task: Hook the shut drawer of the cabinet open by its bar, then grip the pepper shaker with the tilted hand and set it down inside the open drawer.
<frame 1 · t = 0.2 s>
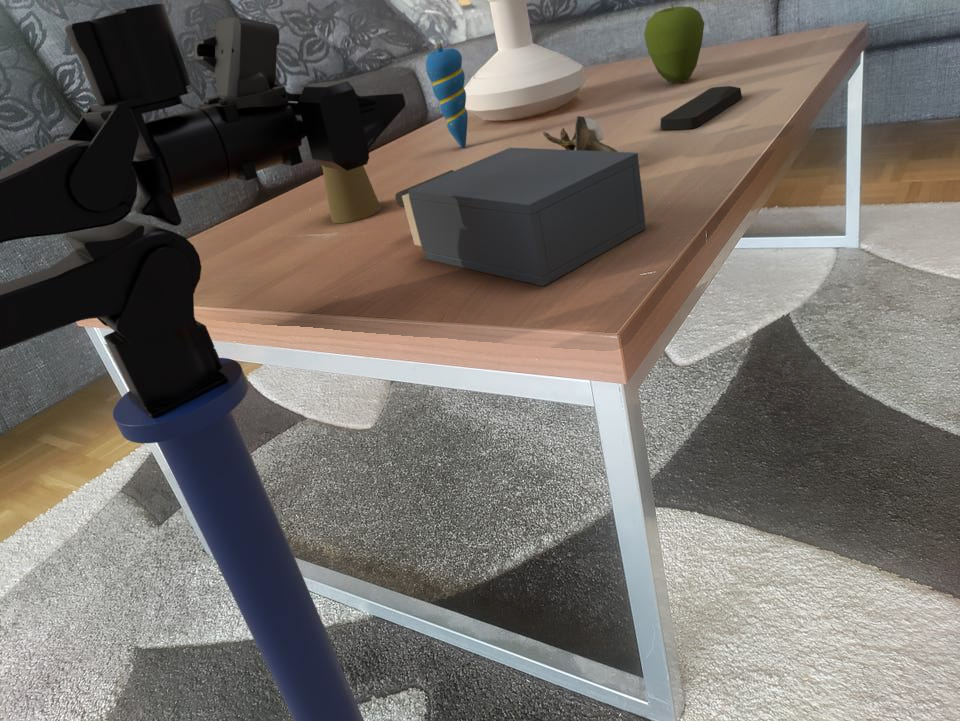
hand: (373, 98, 67), 14 cm above the table, tool horizontal, fingers open, 9 cm apart
ornament: (462, 149, 109), on the table
cabinet: (531, 244, 67), on the table
candle holder: (527, 113, 123), on the table
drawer: (486, 204, 69), point 3 cm above the table, slide at 1.0 cm
eagle figurine: (590, 173, 84), on the table
pepper shaker: (356, 215, 89), on the table
apple: (678, 84, 118), on the table
remote control: (702, 115, 97), on the table
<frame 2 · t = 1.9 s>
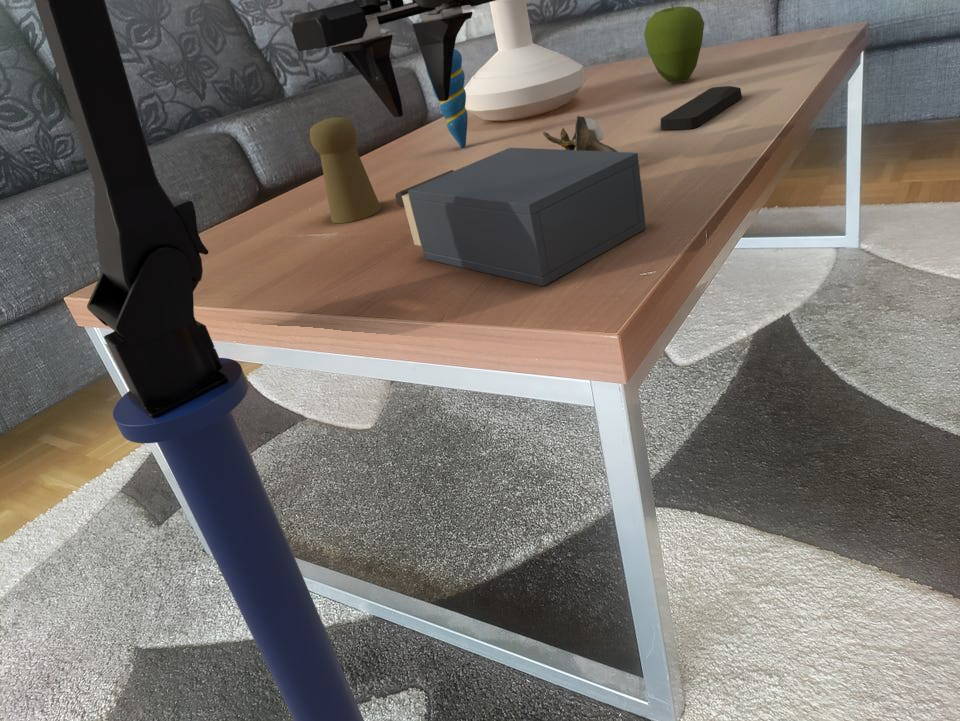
hand: (421, 108, 70), 12 cm above the table, tool pointing down, fingers open, 5 cm apart
nothing on the table moved.
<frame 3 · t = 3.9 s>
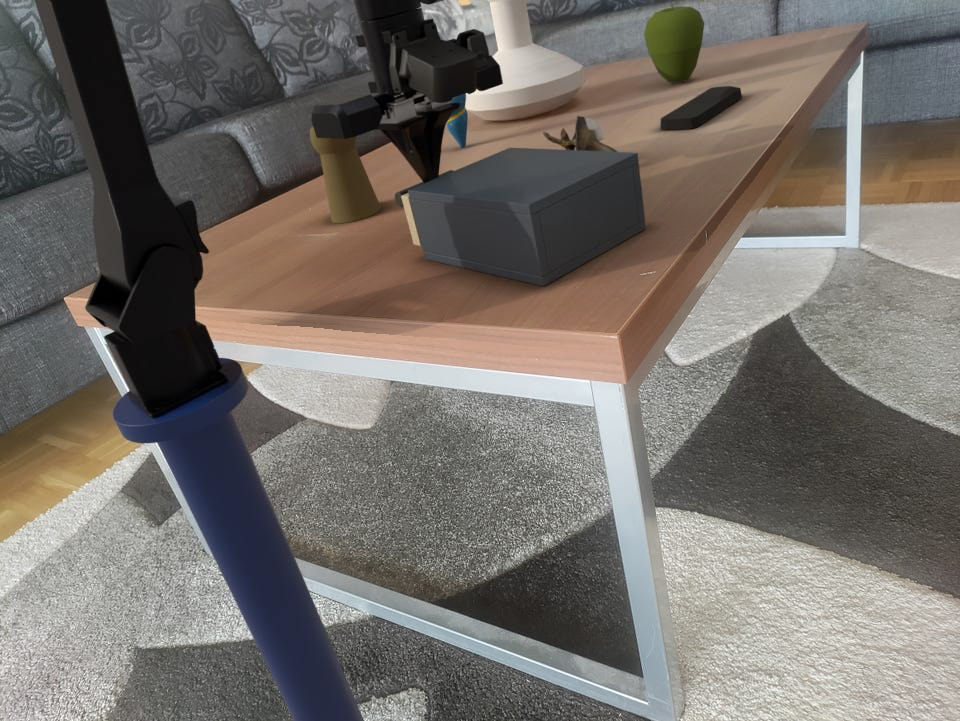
hand: (431, 184, 75), 5 cm above the table, tool pointing down, fingers closed, pressing on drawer
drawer: (486, 204, 69), point 3 cm above the table, slide at 1.1 cm, touching gripper
everything else where it was.
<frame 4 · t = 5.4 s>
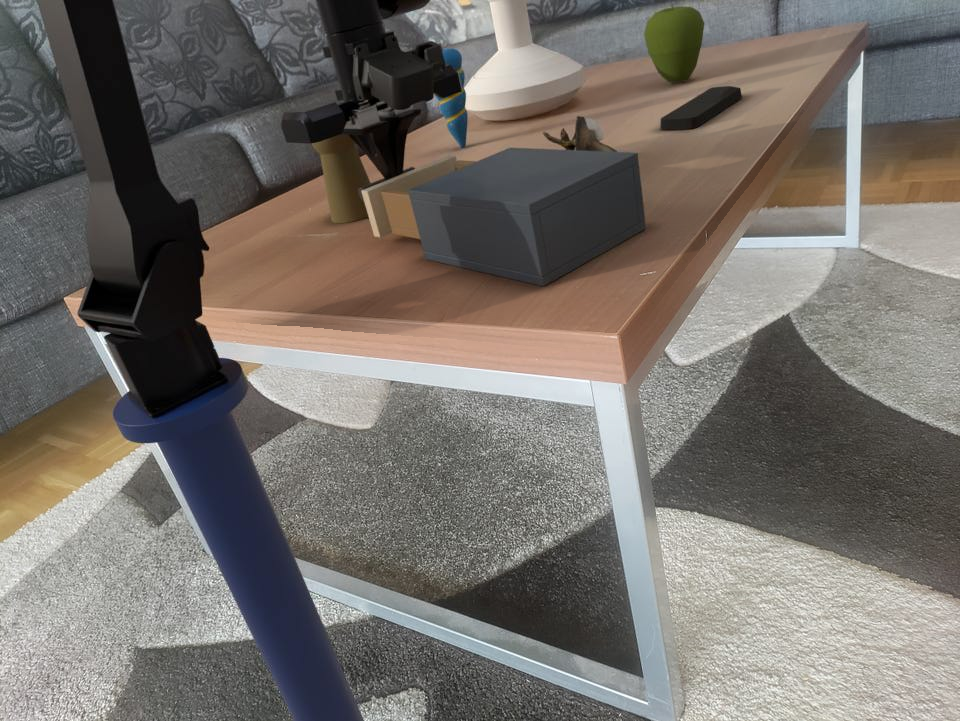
hand: (396, 185, 80), 4 cm above the table, tool pointing down, fingers closed, pressing on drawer
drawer: (440, 198, 74), point 3 cm above the table, slide at 8.1 cm, touching gripper
everything else where it was.
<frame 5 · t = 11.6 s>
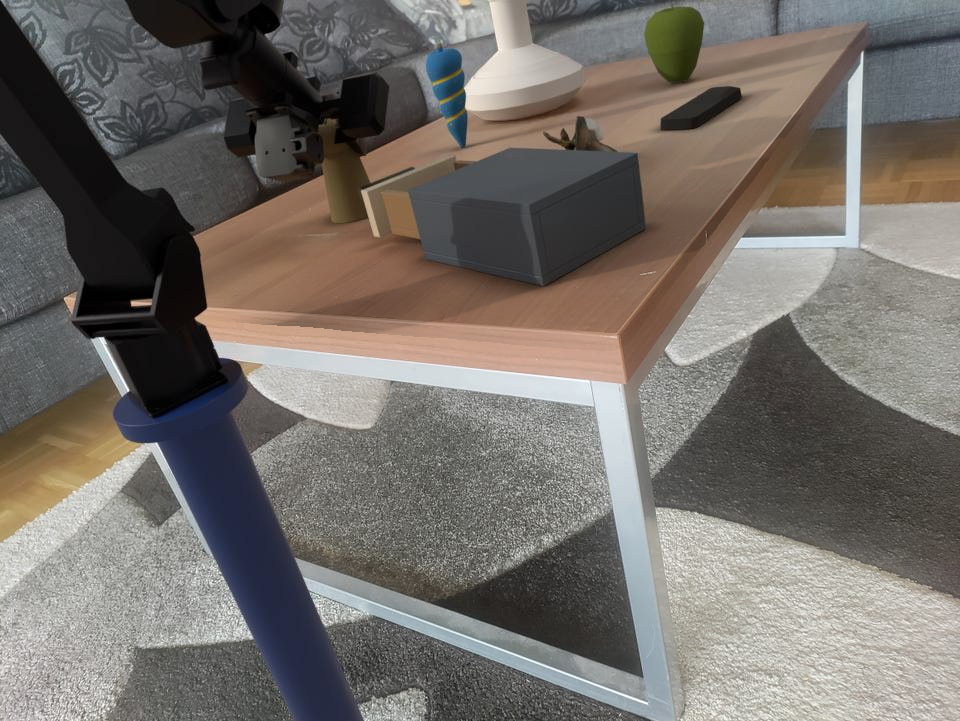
hand: (345, 155, 87), 7 cm above the table, tool tilted 45°, fingers closed on pepper shaker, 5 cm apart
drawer: (440, 198, 75), point 3 cm above the table, slide at 8.1 cm
pepper shaker: (356, 215, 89), on the table, touching gripper
everything else where it was.
when the fingers open (9 cm above the table, at t = 18.4 s): pepper shaker stays where it is, resting on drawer.
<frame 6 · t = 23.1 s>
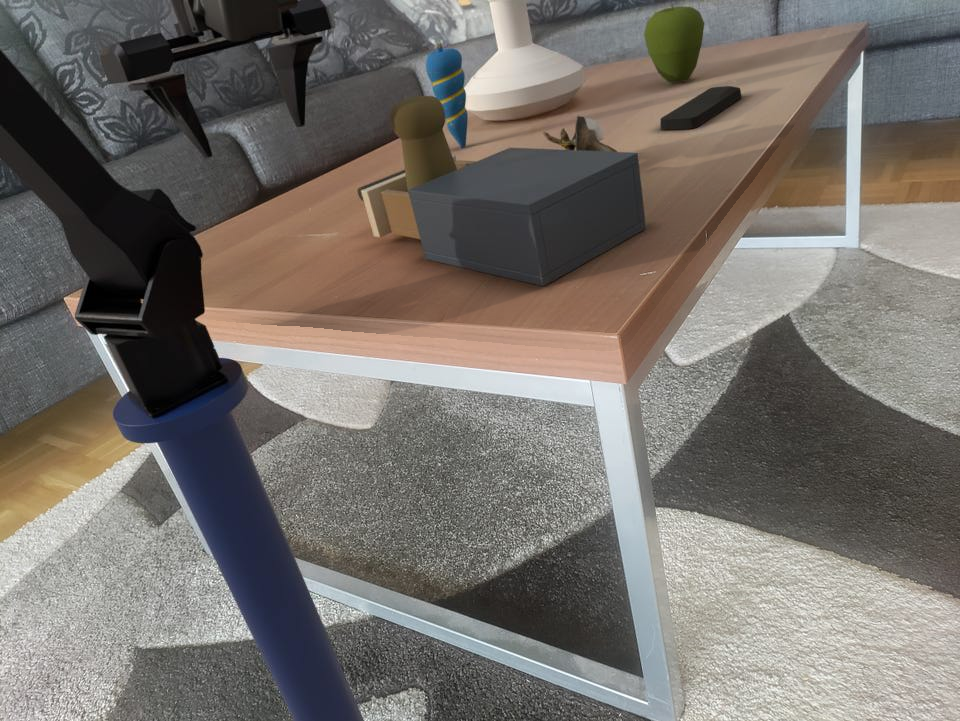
hand: (256, 141, 67), 13 cm above the table, tool pointing down, fingers open, 9 cm apart
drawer: (440, 198, 75), point 3 cm above the table, slide at 8.1 cm, touching pepper shaker
pepper shaker: (440, 213, 75), point 2 cm above the table, touching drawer
everything else where it was.
at the end: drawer slide at 8.1 cm; pepper shaker inside the target area in the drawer (0.2 cm from its centre), point 1.8 cm above the cabinet's base; pepper shaker tilted 0° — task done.
